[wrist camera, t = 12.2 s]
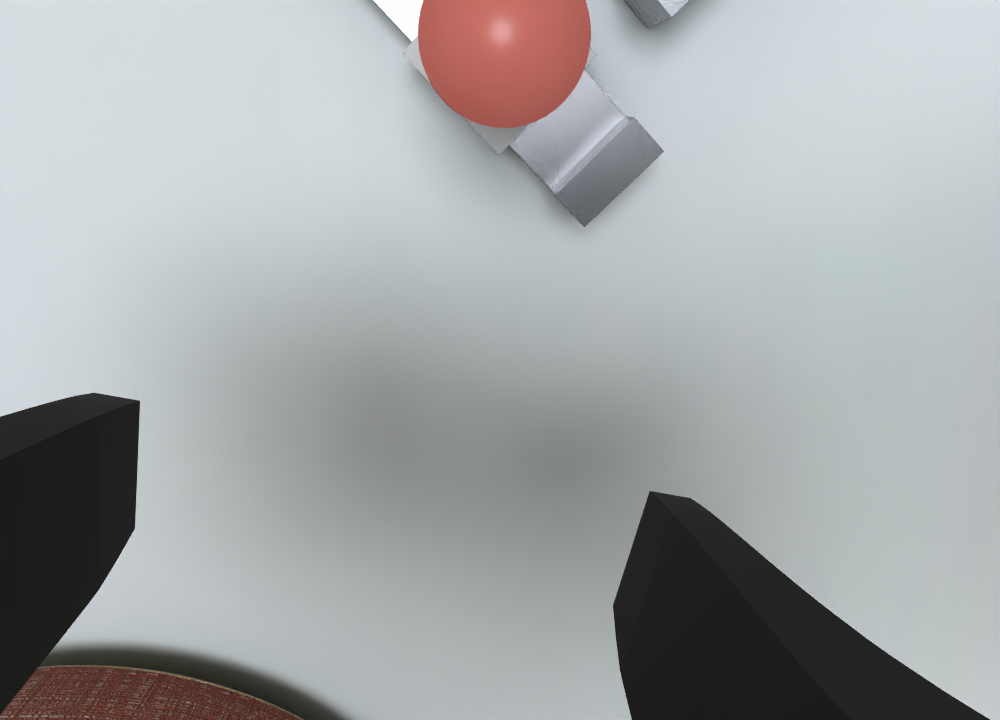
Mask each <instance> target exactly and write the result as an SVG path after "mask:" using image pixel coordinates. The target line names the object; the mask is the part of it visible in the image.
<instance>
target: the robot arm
mask: <svg viewBox="0 0 1000 720" xmlns="http://www.w3.org/2000/svg"><path fill="white" fill-rule="evenodd" d="M139 412H140V401H137V400H132V399H126V398H121V397H115V396H109V395H104V394H98V393H90V394H84V395H78V396H74V397H69V398H65V399H61V400H57V401H54V402H50V403H46V404H43V405H39V406H36V407H32V408H29V409H25V410H22V411H18V412H15V413H12V414H8V415H5V416H1V417H0V714H1V713H2V712H3V711H4V709H5V708H6V707H7V706H8V704H9V703H10V702H11V701H12V699H13V698H14V697H15V695H16V694H17V693H18V692H19V690H20V689H21V688H22V687H23V685H24V684H25V683H26V682H27V680H28V679H29V678H30V677H31V675H32V674H33V673H34V672H35V670H36V669H37V668H38V667H39V665H40V664H41V663H42V662H43V660H44V659H45V658H46V657H47V655H48V654H49V653H50V652H51V650H52V649H53V648H54V647H55V645H56V644H57V643H58V642H59V640H60V639H61V638H62V637H63V635H64V634H65V633H66V631H67V630H68V629H69V628H70V626H71V625H72V624H73V622H74V621H75V620H76V619H77V617H78V616H79V615H80V614H81V612H82V611H83V610H84V608H85V607H86V606H87V605H88V603H89V602H90V601H91V599H92V598H93V597H94V595H95V594H96V593H97V591H98V590H99V589H100V587H101V585H102V584H103V582H104V580H105V579H106V577H107V575H108V574H109V572H110V571H111V569H112V567H113V566H114V564H115V562H116V561H117V559H118V557H119V555H120V554H121V552H122V550H123V548H124V547H125V545H126V543H127V541H128V540H129V538H130V536H131V534H132V532H133V531H134V529H135V512H136V487H137V462H138V437H139ZM613 610H614V620H615V631H616V641H617V649H618V657H619V665H620V672H621V676H622V680H623V685H624V689H625V693H626V697H627V701H628V705H629V709H630V713H631V718H632V720H990V719H988V718H987V717H985V716H983V715H981V714H980V713H978V712H977V711H975V710H973V709H972V708H970V707H968V706H967V705H965V704H964V703H962V702H960V701H959V700H957V699H955V698H954V697H952V696H951V695H949V694H947V693H946V692H944V691H943V690H941V689H940V688H938V687H937V686H935V685H934V684H932V683H931V682H929V681H928V680H926V679H925V678H923V677H922V676H920V675H919V674H917V673H916V672H914V671H913V670H911V669H910V668H908V667H907V666H905V665H904V664H902V663H901V662H899V661H898V660H896V659H895V658H893V657H892V656H890V655H889V654H887V653H886V652H885V651H883V650H882V649H880V648H879V647H878V646H876V645H875V644H873V643H872V642H871V641H869V640H868V639H866V638H865V637H864V636H862V635H861V634H860V633H858V632H857V631H856V630H854V629H853V628H852V627H851V626H849V625H848V624H847V623H845V622H844V621H843V620H841V619H840V618H839V617H837V616H836V615H835V614H833V613H832V612H831V611H829V610H828V609H827V608H826V607H824V606H823V605H822V604H820V603H819V602H818V601H817V600H815V599H814V598H813V597H812V596H810V595H809V594H808V593H807V592H805V591H804V590H803V589H802V588H800V587H799V586H798V585H797V584H796V583H794V582H793V581H792V580H791V579H790V578H788V577H787V576H786V575H785V574H783V573H782V572H781V571H780V570H779V569H778V568H776V567H775V566H774V565H773V564H772V563H770V562H769V561H768V560H767V559H766V558H764V557H763V556H762V555H761V554H760V553H759V552H757V551H756V550H755V549H754V548H753V547H751V546H750V545H749V544H748V543H747V542H746V541H744V540H743V539H742V538H741V537H740V536H739V535H737V534H736V533H735V532H734V531H733V530H731V529H730V528H729V527H728V526H727V525H725V524H724V523H723V522H722V521H721V520H719V519H718V518H717V517H716V516H714V515H713V514H712V513H711V512H709V511H708V510H707V509H705V508H704V507H703V506H701V505H700V504H698V503H697V502H695V501H694V500H692V499H691V498H686V497H680V496H675V495H669V494H663V493H658V492H652V491H650V492H649V495H648V498H647V502H646V505H645V508H644V511H643V514H642V517H641V520H640V523H639V526H638V530H637V533H636V536H635V539H634V542H633V545H632V548H631V551H630V554H629V558H628V561H627V564H626V567H625V570H624V573H623V576H622V579H621V583H620V586H619V589H618V592H617V595H616V598H615V601H614V604H613Z"/></svg>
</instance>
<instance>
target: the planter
mask: <svg viewBox="0 0 1000 720" xmlns="http://www.w3.org/2000/svg"><path fill="white" fill-rule="evenodd" d="M0 720H304V719H302V718H301V717H299V716H297V715H295V714H293V713H291V712H289V711H287V710H285V709H283V708H281V707H279V706H277V705H275V704H272V703H270V702H268V701H265V700H263V699H260V698H258V697H255V696H253V695H250V694H247V693H244V692H241V691H238V690H235V689H232V688H229V687H226V686H223V685H219V684H216V683H213V682H209V681H205V680H202V679H198V678H194V677H190V676H185V675H181V674H176V673H171V672H165V671H158V670H151V669H143V668H133V667H122V666H106V665H57V666H45V667H38V668H37V669H36V670H35V672H34V673H33V674H32V675H31V677H30V678H29V679H28V680H27V682H26V683H25V684H24V685H23V687H22V688H21V689H20V690H19V692H18V693H17V694H16V695H15V697H14V698H13V699H12V701H11V702H10V703H9V704H8V706H7V707H6V708H5V709H4V711H3V712H2V713H1V714H0Z"/></svg>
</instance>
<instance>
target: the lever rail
mask: <svg viewBox="0 0 1000 720" xmlns="http://www.w3.org/2000/svg"><path fill="white" fill-rule="evenodd" d="M373 1H374V2H375V3H376V4H377V5H378V6H379V7H380V8H381V9H382V10H383V11H384V12H385V13H386V15H387V16H388V17H389V18H390V19H391V20H392V21H393V22H394V23H395V24H396V25H397V26H398V27H399V28H400V29H401V30H402V32H403V33H404V34H405V35H406V36H407V37H408V38H409V39H410V40H411V41H413V40H414V39H415V38H416V37H417V36H418V22H419V15H420V10H421V6H422V3H423V0H373ZM510 146H511V147H512V149H513V150H514V151H515V152H516V153H517V154H518V155H519V156H520V157H521V158H522V159H523V160H524V161H525V162H526V163H527V164H528V166H529V167H530V168H531V169H532V170H533V171H534V172H535V173H536V174H537V175H538V176H539V177H540V178H541V179H542V180H543V181H544V183H545V184H546V185H547V186H548V187H549V188H550V189H551V190H552V192H553V194H554V195H555V196H556V197H557V199H558V200H559V201H560V202H561V203H562V204H563V205H564V206H565V207H566V208H567V209H568V210H569V211H570V212H571V213H572V214H573V216H574V217H575V218H576V219H577V220H578V221H579V222H580V223H581V224H582V225H583V226H584V227H585V226H586V225H587V224H588V223H589V222H590V221H591V220H592V219H593V218H594V217H595V216H597V215H598V214H599V213H600V212H601V211H602V210H603V209H604V208H605V207H606V206H607V205H608V204H609V203H610V202H611V201H612V200H613V199H614V198H615V197H617V196H618V195H619V194H620V193H621V192H622V191H623V190H624V189H625V188H626V187H627V186H628V185H629V184H630V183H631V182H632V181H633V180H634V179H635V178H637V177H638V176H639V175H640V174H641V173H642V172H643V171H644V170H645V169H646V168H647V167H648V166H649V165H650V164H651V163H652V162H653V161H654V160H655V159H657V158H658V157H659V156H660V155H661V154H662V153H663V152H664V151H663V150H662V149H661V147H660V146H659V145H658V144H657V143H656V142H655V141H654V139H653V138H652V137H651V136H650V135H649V134H648V132H647V131H646V130H645V129H644V128H643V127H642V126H641V124H640V123H639V122H638V121H637V120H636V119H635V118H633V117H628V116H625V115H624V114H623V113H622V112H621V111H620V110H619V109H618V107H617V106H616V105H615V104H614V103H613V102H612V100H611V99H610V98H609V97H608V96H607V95H606V94H605V92H604V91H603V90H602V89H601V88H600V87H599V86H598V84H597V83H596V82H595V81H594V80H593V79H592V78H591V76H590V75H589V74H588V73H587V72H586V71H585V70H584V71H583V74H582V76H581V78H580V80H579V82H578V84H577V85H576V87H575V88H574V90H573V91H572V93H571V94H570V95H569V97H568V98H567V99H566V100H565V101H564V102H563V103H562V104H561V105H560V106H559V107H558V108H557V109H556V110H554V111H553V112H551V113H550V114H549V115H547V116H546V117H544V118H542V119H540V120H538V121H536V122H533V123H530V124H529V125H528V126H527V127H526V128H525V129H524V131H523V132H522V133H521V134H520V135H519V136H518V137H517V138H516V139H515V140H514V141H513V142H512V143H511V144H510Z"/></svg>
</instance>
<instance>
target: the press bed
mask: <svg viewBox="0 0 1000 720" xmlns="http://www.w3.org/2000/svg"><path fill="white" fill-rule="evenodd" d="M625 1H626V3H627V4H628V5H629V6H630V8H631V9H632V10H633V11H634V12H635V14H636V15H637V16H638V17H639V18H640V20H641V21H642V22H643V23H644V24H645V26H646V27H649V26H652V25H654V24H657V23H659V22H662V21H664V20H666V19H669V18H671V17H673V16H674V15H675V14H676V13H677V12H678V11H679V10H680V9H681V8H682V7H683V6H684V5H685V4H686V3H687V2H688V1H689V0H625Z"/></svg>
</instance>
